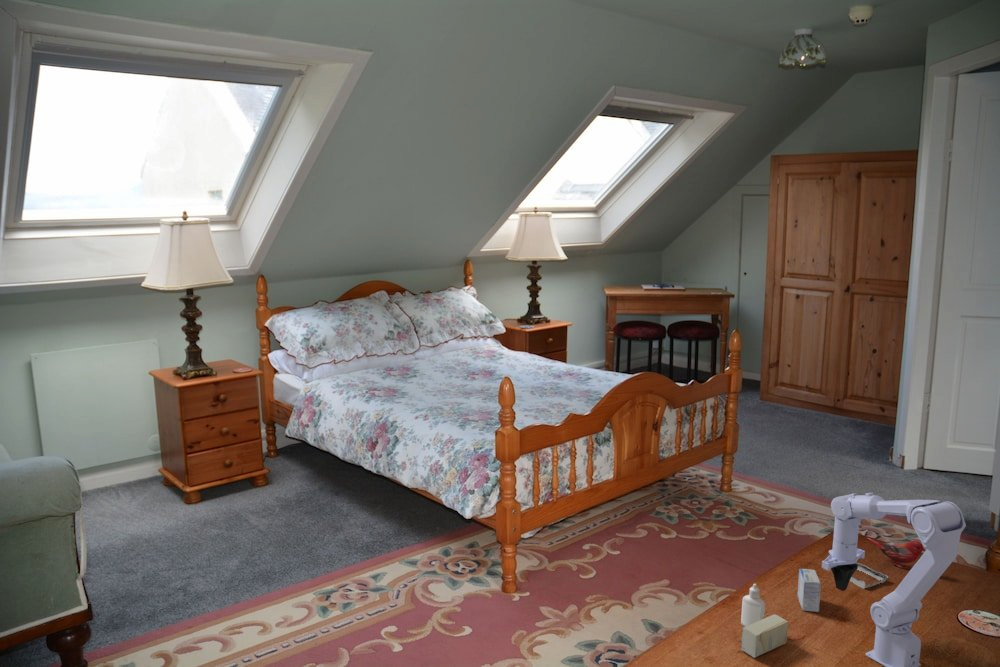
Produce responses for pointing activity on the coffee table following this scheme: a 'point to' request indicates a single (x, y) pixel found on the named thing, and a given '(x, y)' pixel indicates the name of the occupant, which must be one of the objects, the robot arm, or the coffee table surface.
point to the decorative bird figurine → (900, 551)
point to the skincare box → (764, 635)
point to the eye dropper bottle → (752, 607)
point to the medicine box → (809, 590)
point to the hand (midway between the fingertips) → (841, 588)
